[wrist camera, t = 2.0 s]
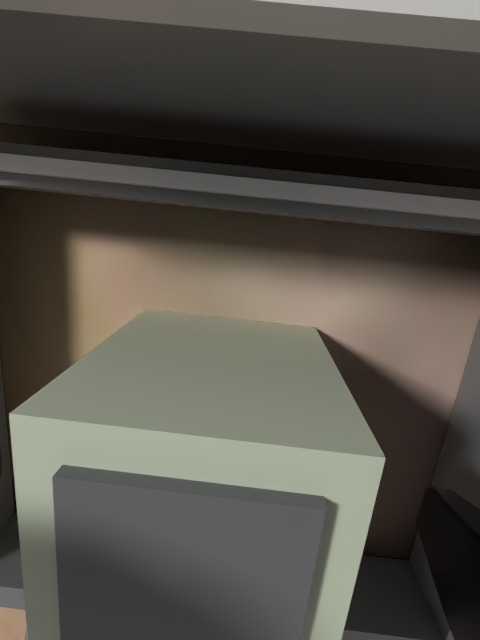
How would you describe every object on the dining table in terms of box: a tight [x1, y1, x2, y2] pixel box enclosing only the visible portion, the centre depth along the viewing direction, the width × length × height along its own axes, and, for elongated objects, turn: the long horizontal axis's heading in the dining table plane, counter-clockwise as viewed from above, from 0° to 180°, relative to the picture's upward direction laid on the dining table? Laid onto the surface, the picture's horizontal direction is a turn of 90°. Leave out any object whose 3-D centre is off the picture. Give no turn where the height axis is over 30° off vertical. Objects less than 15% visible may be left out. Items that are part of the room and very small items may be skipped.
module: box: [9, 309, 386, 640], centre depth 8 cm, size 5×5×6 cm
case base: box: [0, 142, 480, 640], centre depth 10 cm, size 16×13×3 cm
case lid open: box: [0, 0, 480, 170], centre depth 6 cm, size 16×2×6 cm, turn 84°
